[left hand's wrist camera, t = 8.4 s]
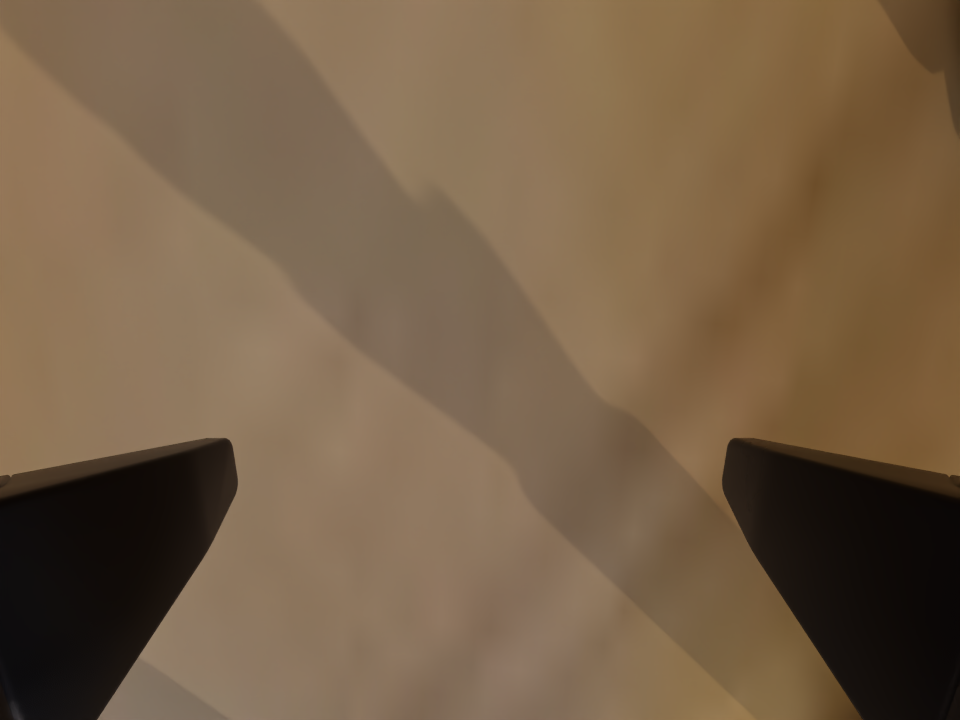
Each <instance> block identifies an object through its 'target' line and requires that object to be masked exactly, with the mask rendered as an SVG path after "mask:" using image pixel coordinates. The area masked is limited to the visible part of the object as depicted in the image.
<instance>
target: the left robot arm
mask: <svg viewBox="0 0 960 720" xmlns="http://www.w3.org/2000/svg"><path fill="white" fill-rule="evenodd" d="M237 486H238V478H237V471H236V465H235V458H234V452H233V446H232V444H231V442H230V440H228V439H227V438H205V439H200V440H195V441H189V442H184V443H179V444H173V445H168V446H163V447H157V448H152V449H147V450H141V451H136V452H131V453H125V454H120V455H115V456H110V457H104V458H99V459H94V460H88V461H83V462H78V463H72V464H67V465H62V466H56V467H51V468H46V469H40V470H35V471H30V472H24V473H19V474H14V475H12V477H10V476H9V475H4V476H0V720H97V719H98V717H99V716H100V714H101V713H102V711H103V710H104V708H105V707H106V705H107V704H108V702H109V701H110V699H111V698H112V696H113V695H114V693H115V692H116V690H117V689H118V687H119V685H120V684H121V682H122V681H123V679H124V678H125V676H126V675H127V673H128V672H129V670H130V669H131V667H132V666H133V664H134V663H135V661H136V660H137V658H138V657H139V655H140V654H141V652H142V650H143V649H144V647H145V646H146V644H147V643H148V641H149V640H150V638H151V637H152V635H153V634H154V632H155V631H156V629H157V628H158V626H159V625H160V623H161V622H162V620H163V619H164V617H165V616H166V614H167V612H168V611H169V609H170V608H171V606H172V605H173V603H174V602H175V600H176V599H177V597H178V596H179V594H180V593H181V591H182V590H183V588H184V587H185V585H186V584H187V582H188V581H189V579H190V577H191V576H192V574H193V573H194V571H195V570H196V568H197V567H198V565H199V564H200V562H201V561H202V559H203V558H204V556H205V554H206V553H207V551H208V549H209V547H210V546H211V544H212V542H213V540H214V538H215V536H216V534H217V532H218V530H219V528H220V526H221V523H222V521H223V519H224V517H225V515H226V513H227V511H228V509H229V507H230V505H231V503H232V501H233V499H234V497H235V494H236V491H237ZM722 486H723V491H724V494H725V497H726V499H727V501H728V503H729V505H730V507H731V509H732V511H733V513H734V515H735V517H736V519H737V521H738V523H739V526H740V528H741V530H742V532H743V534H744V536H745V538H746V540H747V542H748V544H749V546H750V547H751V549H752V551H753V553H754V554H755V556H756V558H757V559H758V561H759V562H760V564H761V565H762V567H763V568H764V570H765V571H766V573H767V574H768V576H769V577H770V579H771V581H772V582H773V584H774V585H775V587H776V588H777V590H778V591H779V593H780V594H781V596H782V597H783V599H784V600H785V602H786V603H787V605H788V606H789V608H790V609H791V611H792V612H793V614H794V615H795V617H796V618H797V620H798V622H799V623H800V625H801V626H802V628H803V629H804V631H805V632H806V634H807V635H808V637H809V638H810V640H811V641H812V643H813V644H814V646H815V647H816V649H817V650H818V652H819V653H820V655H821V656H822V658H823V660H824V661H825V663H826V664H827V666H828V667H829V669H830V670H831V672H832V673H833V675H834V676H835V678H836V679H837V681H838V682H839V684H840V685H841V687H842V688H843V690H844V691H845V693H846V695H847V696H848V698H849V699H850V701H851V702H852V704H853V705H854V707H855V708H856V710H857V711H858V713H859V714H860V716H861V717H862V719H863V720H960V476H956V475H951V476H950V477H948V475H946V474H941V473H936V472H931V471H925V470H920V469H915V468H909V467H904V466H899V465H893V464H888V463H883V462H877V461H872V460H867V459H861V458H856V457H851V456H845V455H840V454H835V453H829V452H824V451H819V450H813V449H808V448H803V447H797V446H792V445H787V444H781V443H776V442H771V441H765V440H760V439H755V438H733V439H732V440H730V442H729V444H728V446H727V452H726V458H725V465H724V471H723V478H722Z"/></svg>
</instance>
